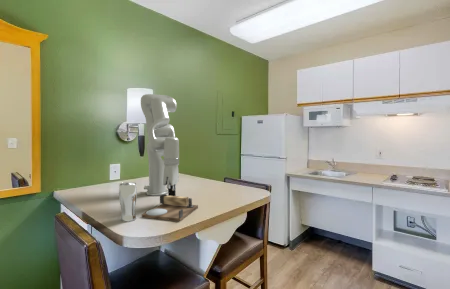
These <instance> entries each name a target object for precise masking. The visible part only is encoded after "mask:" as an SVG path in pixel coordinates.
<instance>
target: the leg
mask: <svg viewBox="0 0 450 289" xmlns="http://www.w3.org/2000/svg"><path fill="white" fill-rule="evenodd" d="M188 199H189V196H182V195H181V196H180V195H178V196H177V195H176V196H168V195H167V194H163V195H159V205H161V204H171V205H182V206H187V205H188Z"/></svg>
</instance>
